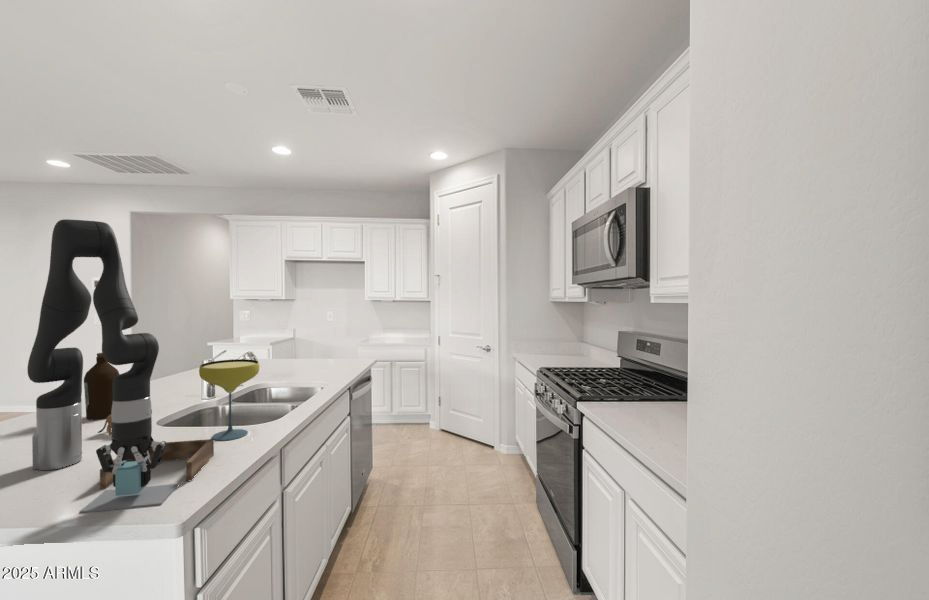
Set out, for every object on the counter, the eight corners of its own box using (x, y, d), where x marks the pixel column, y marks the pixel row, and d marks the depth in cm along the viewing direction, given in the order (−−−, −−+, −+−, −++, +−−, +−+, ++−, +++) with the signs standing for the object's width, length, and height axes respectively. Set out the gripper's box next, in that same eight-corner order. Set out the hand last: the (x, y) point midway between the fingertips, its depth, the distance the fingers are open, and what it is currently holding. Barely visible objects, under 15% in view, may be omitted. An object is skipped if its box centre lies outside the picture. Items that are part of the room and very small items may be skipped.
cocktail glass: (216, 426, 151) (216, 359, 150) (267, 426, 152) (267, 359, 152) (187, 445, 133) (187, 368, 132) (245, 444, 134) (245, 368, 134)
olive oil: (121, 411, 168) (121, 350, 168) (118, 417, 160) (118, 353, 159) (86, 415, 162) (86, 352, 161) (81, 422, 153) (81, 356, 153)
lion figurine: (150, 428, 148) (150, 403, 148) (143, 433, 143) (143, 407, 143) (101, 431, 144) (101, 406, 144) (92, 437, 139) (92, 410, 139)
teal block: (115, 495, 96) (115, 470, 96) (127, 486, 101) (126, 462, 101) (137, 493, 98) (137, 468, 97) (148, 484, 102) (148, 460, 102)
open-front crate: (99, 489, 104) (99, 469, 104) (135, 461, 120) (135, 444, 120) (191, 480, 109) (191, 462, 109) (213, 455, 125) (213, 439, 125)
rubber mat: (79, 513, 93) (79, 511, 93) (105, 492, 102) (105, 490, 102) (161, 504, 97) (161, 503, 97) (179, 485, 106) (178, 483, 106)
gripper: (86, 423, 93) (87, 497, 94) (158, 419, 97) (159, 490, 97) (106, 413, 101) (106, 482, 101) (172, 410, 104) (172, 476, 105)
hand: (132, 486), depth 99 cm, fingers closed on teal block, 4 cm apart
